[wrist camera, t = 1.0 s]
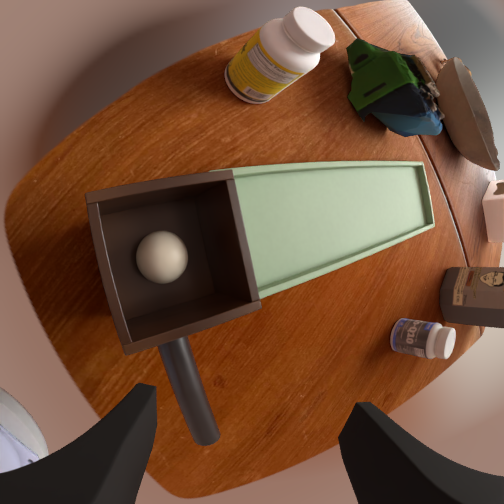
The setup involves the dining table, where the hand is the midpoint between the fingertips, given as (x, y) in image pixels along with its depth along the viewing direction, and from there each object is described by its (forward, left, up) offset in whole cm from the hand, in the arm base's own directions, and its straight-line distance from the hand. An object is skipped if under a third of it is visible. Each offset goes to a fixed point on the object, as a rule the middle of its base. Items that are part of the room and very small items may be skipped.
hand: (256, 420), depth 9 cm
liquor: (+37, -34, -13) cm, 52 cm away
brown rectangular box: (+1, +2, -10) cm, 10 cm away
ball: (+3, +5, -8) cm, 10 cm away
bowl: (+72, -12, -13) cm, 74 cm away
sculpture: (+38, +4, -13) cm, 40 cm away
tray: (+23, -6, -13) cm, 27 cm away
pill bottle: (+20, -24, -13) cm, 34 cm away
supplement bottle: (+20, +12, -13) cm, 27 cm away
